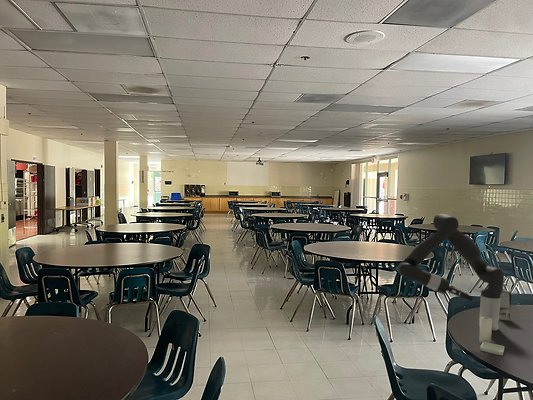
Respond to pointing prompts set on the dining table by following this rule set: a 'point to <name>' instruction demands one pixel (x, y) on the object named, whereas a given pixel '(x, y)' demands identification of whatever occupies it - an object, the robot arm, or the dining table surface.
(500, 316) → the coffee box
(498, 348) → the tray
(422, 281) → the robot arm
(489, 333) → the battery cell
